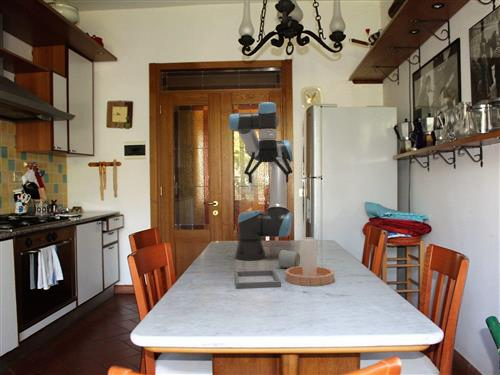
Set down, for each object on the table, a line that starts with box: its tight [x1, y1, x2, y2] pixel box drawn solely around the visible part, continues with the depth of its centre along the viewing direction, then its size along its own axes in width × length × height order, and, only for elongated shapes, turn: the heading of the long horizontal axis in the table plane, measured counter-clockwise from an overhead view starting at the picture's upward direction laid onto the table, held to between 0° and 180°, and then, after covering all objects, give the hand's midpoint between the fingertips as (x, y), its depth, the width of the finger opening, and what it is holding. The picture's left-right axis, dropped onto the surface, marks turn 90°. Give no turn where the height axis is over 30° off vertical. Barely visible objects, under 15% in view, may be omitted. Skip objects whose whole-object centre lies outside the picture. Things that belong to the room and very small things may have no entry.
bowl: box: [284, 265, 335, 287], centre depth 143 cm, size 18×18×3 cm
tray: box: [234, 269, 282, 289], centre depth 142 cm, size 18×16×2 cm
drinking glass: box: [299, 237, 319, 277], centre depth 143 cm, size 7×7×15 cm
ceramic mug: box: [278, 249, 301, 269], centre depth 164 cm, size 11×8×8 cm
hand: (268, 190), depth 156 cm, fingers open, 13 cm apart
